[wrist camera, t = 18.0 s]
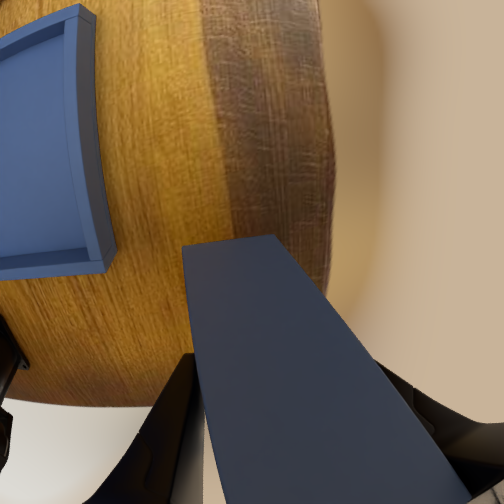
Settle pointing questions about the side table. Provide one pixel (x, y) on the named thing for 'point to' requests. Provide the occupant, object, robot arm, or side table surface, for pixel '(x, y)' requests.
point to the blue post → (299, 390)
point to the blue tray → (51, 151)
